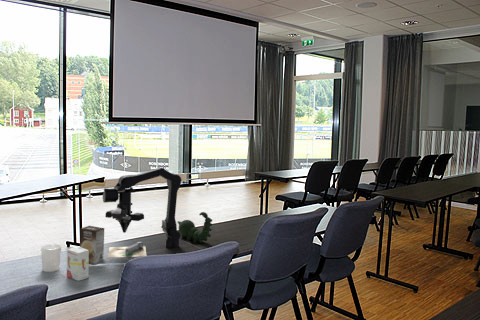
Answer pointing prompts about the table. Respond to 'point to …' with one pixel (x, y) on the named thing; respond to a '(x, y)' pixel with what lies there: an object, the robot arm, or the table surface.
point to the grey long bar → (134, 248)
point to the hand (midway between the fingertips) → (124, 232)
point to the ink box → (77, 263)
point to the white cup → (51, 257)
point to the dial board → (121, 252)
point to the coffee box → (93, 243)
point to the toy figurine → (195, 229)
